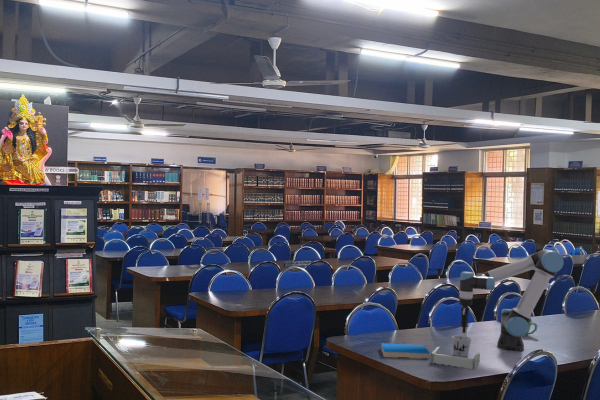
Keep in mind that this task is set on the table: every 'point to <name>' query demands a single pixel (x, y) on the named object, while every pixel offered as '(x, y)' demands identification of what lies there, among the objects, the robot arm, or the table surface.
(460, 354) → the mug
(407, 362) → the table surface
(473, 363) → the cradle
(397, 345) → the book
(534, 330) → the mug
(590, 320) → the table surface
